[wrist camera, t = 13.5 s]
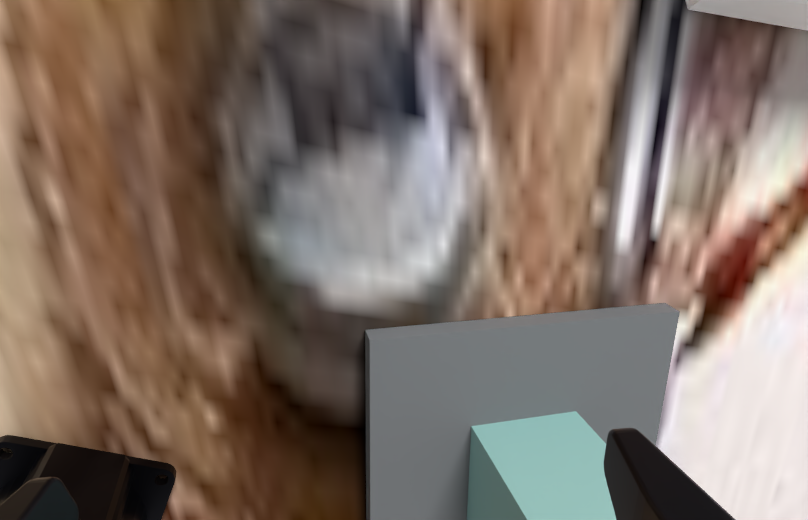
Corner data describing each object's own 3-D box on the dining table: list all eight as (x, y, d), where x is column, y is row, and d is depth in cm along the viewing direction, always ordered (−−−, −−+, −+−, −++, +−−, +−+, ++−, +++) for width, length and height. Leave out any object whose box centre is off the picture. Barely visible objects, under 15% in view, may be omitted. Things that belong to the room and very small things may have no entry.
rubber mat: (366, 594, 28) (370, 611, 27) (365, 329, 24) (369, 340, 23) (623, 543, 32) (635, 558, 31) (664, 302, 27) (679, 311, 26)
